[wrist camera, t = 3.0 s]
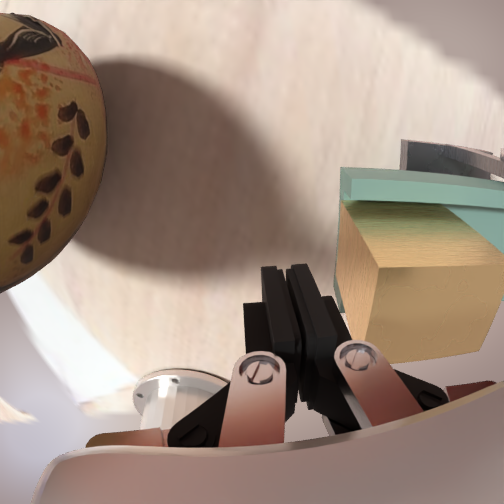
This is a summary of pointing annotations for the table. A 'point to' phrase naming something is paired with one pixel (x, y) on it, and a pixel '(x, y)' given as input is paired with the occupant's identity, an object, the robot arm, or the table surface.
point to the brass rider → (416, 279)
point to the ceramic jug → (45, 144)
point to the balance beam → (429, 198)
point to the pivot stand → (450, 160)
